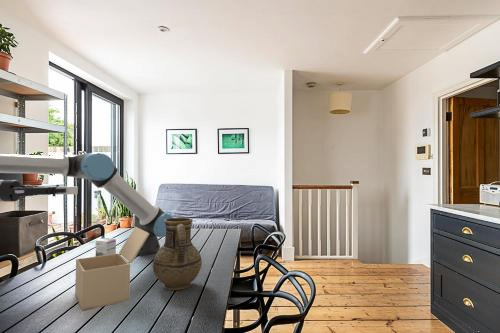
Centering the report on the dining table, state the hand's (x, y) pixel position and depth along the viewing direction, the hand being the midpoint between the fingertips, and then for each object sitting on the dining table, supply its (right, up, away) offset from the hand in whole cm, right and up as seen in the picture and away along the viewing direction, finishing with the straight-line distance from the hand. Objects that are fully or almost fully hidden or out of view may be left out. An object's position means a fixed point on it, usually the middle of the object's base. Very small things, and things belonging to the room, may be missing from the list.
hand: (76, 190), depth 112 cm
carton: (+12, -36, -6) cm, 38 cm away
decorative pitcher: (+35, -37, +5) cm, 51 cm away
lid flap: (+20, -19, 0) cm, 28 cm away
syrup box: (+2, -36, +18) cm, 41 cm away
